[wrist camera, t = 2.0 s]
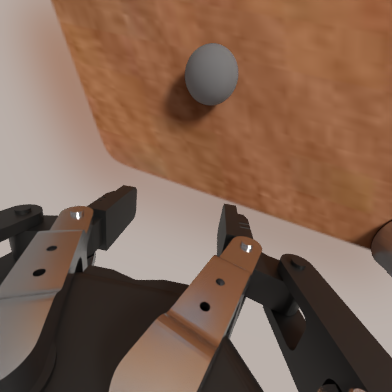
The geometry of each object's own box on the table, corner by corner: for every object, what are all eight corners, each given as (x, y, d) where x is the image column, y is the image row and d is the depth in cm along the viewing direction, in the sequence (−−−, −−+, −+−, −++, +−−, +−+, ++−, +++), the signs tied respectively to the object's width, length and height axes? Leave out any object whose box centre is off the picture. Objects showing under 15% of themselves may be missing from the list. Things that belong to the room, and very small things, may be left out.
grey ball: (242, 93, 24) (249, 86, 18) (200, 114, 25) (195, 113, 20) (225, 42, 22) (227, 20, 17) (181, 68, 23) (170, 54, 18)
